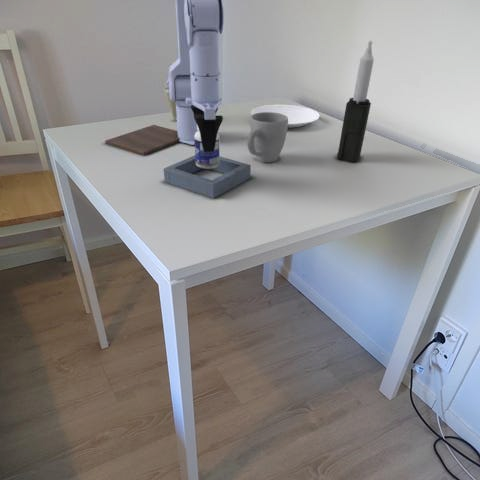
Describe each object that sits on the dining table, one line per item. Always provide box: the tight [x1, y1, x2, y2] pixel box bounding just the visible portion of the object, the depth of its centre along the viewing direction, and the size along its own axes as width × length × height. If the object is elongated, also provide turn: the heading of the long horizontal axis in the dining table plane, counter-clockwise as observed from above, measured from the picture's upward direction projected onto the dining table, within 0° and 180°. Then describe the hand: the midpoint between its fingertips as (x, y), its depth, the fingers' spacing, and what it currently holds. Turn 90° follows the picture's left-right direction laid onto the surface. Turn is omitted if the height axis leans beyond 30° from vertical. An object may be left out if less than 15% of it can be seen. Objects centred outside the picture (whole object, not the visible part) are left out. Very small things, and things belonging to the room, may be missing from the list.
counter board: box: [104, 124, 180, 156], centre depth 114 cm, size 18×14×1 cm
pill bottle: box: [194, 125, 221, 170], centre depth 90 cm, size 5×5×9 cm
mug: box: [246, 112, 289, 163], centre depth 102 cm, size 12×9×10 cm
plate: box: [250, 103, 320, 129], centre depth 130 cm, size 21×21×2 cm
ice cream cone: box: [163, 63, 177, 122], centre depth 124 cm, size 5×5×15 cm
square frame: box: [163, 154, 252, 199], centre depth 94 cm, size 14×14×3 cm
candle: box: [336, 40, 375, 163], centre depth 99 cm, size 5×5×25 cm
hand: (207, 146), depth 90 cm, fingers closed on pill bottle, 5 cm apart
